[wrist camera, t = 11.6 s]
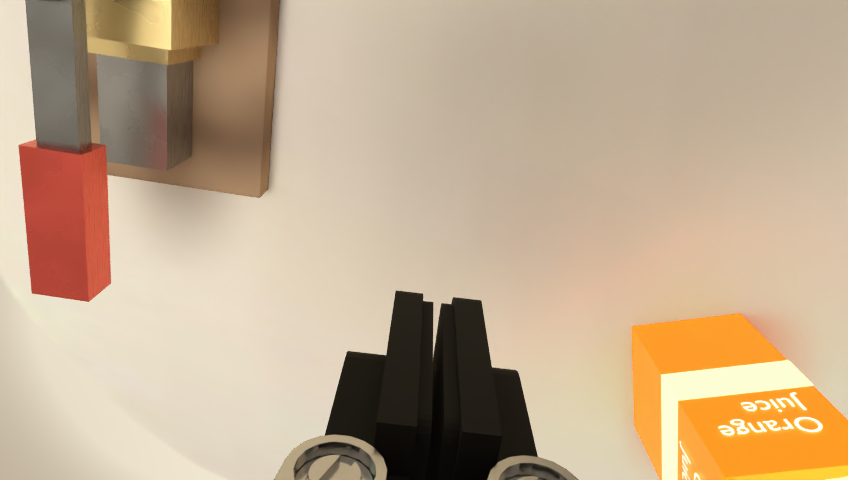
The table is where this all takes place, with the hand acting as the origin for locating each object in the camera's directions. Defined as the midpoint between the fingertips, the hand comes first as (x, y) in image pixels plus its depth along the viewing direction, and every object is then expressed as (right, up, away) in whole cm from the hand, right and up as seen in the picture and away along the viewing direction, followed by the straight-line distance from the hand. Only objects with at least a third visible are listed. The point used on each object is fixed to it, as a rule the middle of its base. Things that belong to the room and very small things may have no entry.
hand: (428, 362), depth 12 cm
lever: (-16, +8, +15) cm, 23 cm away
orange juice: (+19, -7, +32) cm, 38 cm away
